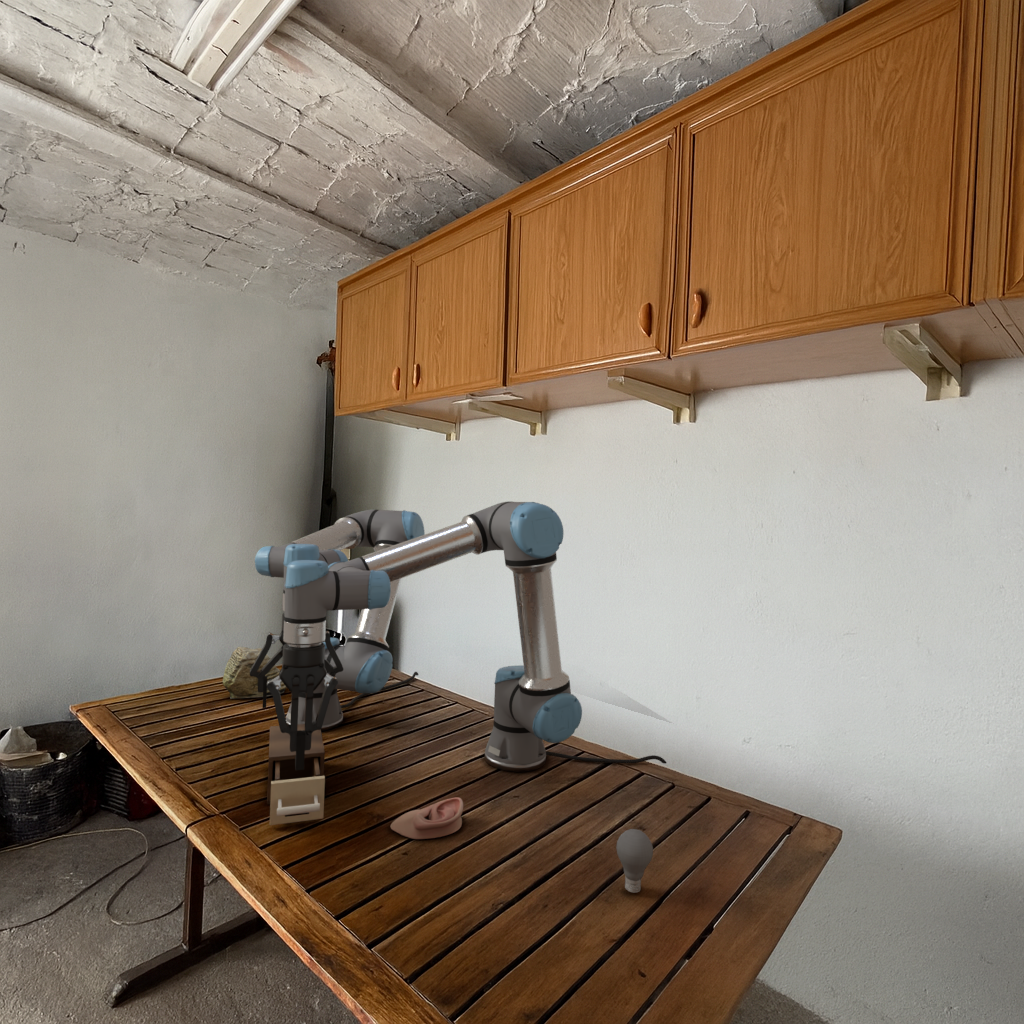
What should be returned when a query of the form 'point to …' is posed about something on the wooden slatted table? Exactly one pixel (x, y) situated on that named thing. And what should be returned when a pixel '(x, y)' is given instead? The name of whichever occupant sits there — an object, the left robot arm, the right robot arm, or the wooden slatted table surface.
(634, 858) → the light bulb
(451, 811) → the anatomical model
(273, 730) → the tall brown box
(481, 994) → the wooden slatted table surface
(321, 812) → the drawer
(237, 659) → the fossil
